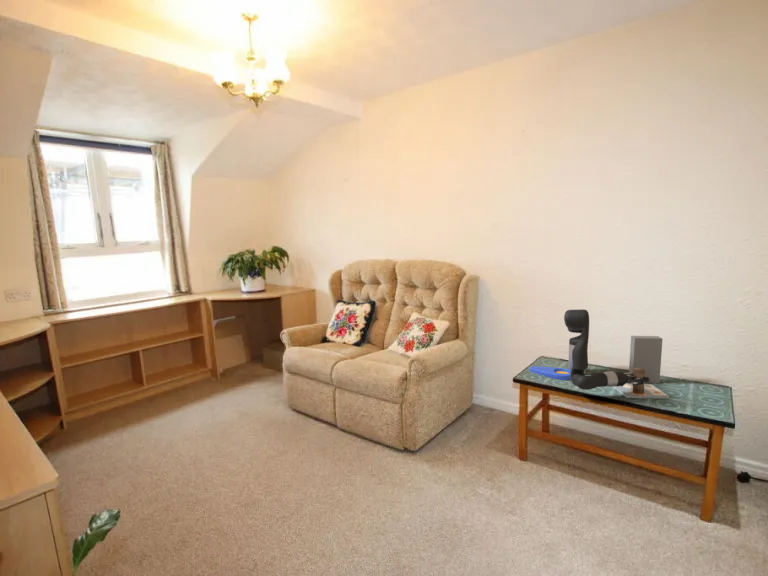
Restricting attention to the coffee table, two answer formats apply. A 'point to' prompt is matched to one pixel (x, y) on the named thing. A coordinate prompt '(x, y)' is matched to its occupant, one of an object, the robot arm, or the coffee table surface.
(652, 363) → the tall grey upright box
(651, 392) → the board
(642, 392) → the brown upright cylinder
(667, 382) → the coffee table surface
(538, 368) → the location marker
